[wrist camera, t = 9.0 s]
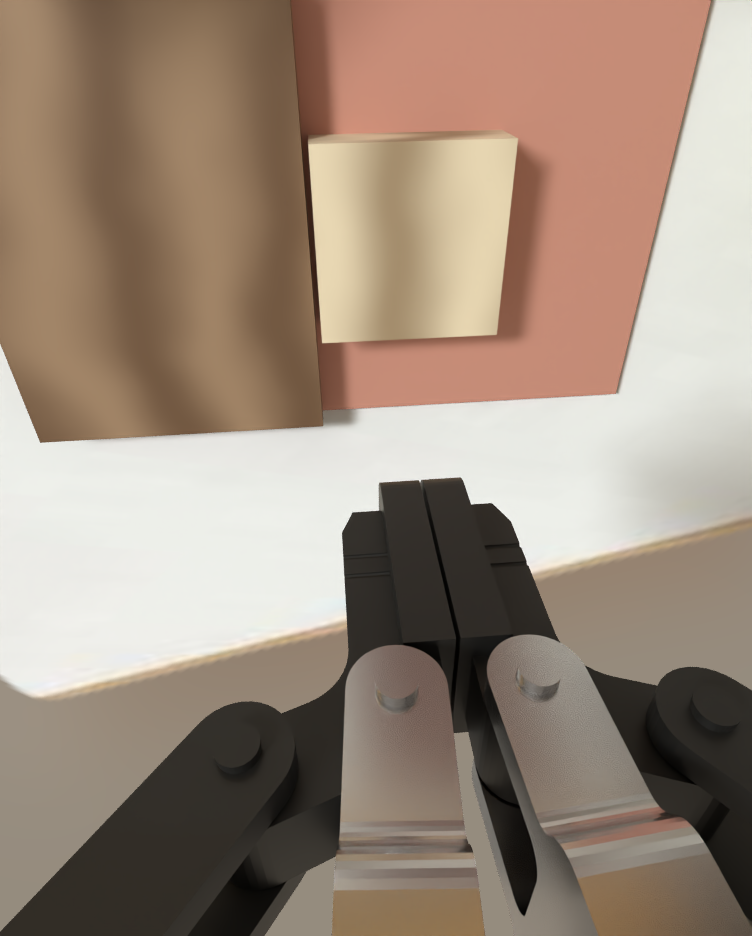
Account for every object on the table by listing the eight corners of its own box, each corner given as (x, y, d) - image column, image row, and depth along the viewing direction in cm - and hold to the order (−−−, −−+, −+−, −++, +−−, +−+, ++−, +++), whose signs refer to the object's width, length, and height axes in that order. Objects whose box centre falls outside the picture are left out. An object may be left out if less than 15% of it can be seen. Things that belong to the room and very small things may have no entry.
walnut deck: (289, -25, 22) (287, -29, 21) (322, 406, 33) (323, 426, 31) (-113, -19, 21) (-148, -23, 20) (54, 421, 32) (40, 442, 30)
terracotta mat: (713, -31, 23) (718, -31, 23) (612, 390, 34) (615, 393, 33) (289, -25, 22) (289, -26, 22) (322, 406, 33) (322, 410, 32)
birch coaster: (501, 129, 25) (518, 138, 23) (484, 314, 30) (496, 335, 28) (308, 135, 25) (308, 144, 23) (321, 321, 30) (322, 343, 27)
